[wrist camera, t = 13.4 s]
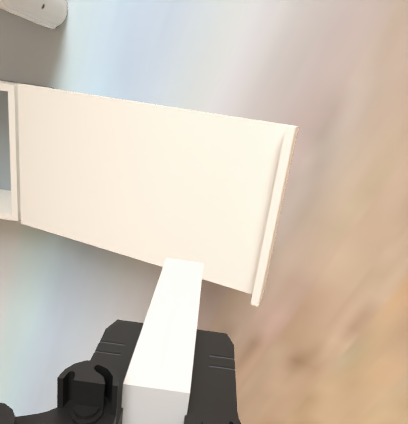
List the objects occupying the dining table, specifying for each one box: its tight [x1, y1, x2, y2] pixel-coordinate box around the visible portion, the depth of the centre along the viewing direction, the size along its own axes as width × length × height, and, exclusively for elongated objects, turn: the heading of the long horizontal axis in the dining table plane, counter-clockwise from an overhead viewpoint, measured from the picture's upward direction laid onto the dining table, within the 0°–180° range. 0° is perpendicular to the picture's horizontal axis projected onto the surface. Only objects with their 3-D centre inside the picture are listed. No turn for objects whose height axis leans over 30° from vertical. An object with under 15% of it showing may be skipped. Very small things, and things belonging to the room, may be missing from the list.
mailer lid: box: [18, 84, 299, 306], centre depth 30 cm, size 13×25×2 cm, turn 82°
